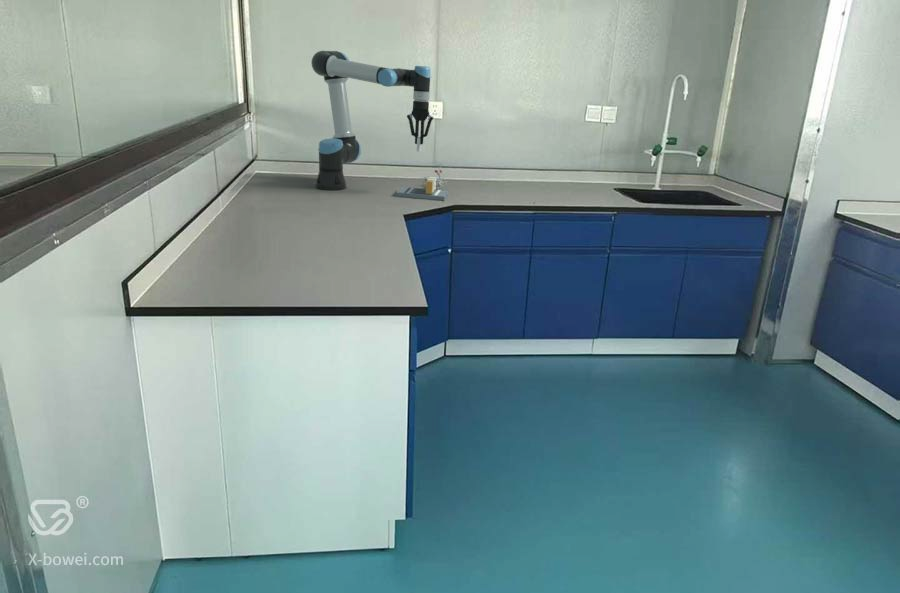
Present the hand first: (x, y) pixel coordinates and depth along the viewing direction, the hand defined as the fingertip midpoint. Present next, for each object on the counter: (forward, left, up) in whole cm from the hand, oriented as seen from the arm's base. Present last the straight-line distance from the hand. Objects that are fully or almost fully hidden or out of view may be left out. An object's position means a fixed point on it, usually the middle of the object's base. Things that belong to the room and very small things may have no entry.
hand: (418, 151), depth 307 cm
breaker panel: (+3, -2, -21) cm, 22 cm away
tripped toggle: (+7, -6, -19) cm, 21 cm away
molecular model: (+7, +17, -22) cm, 28 cm away
